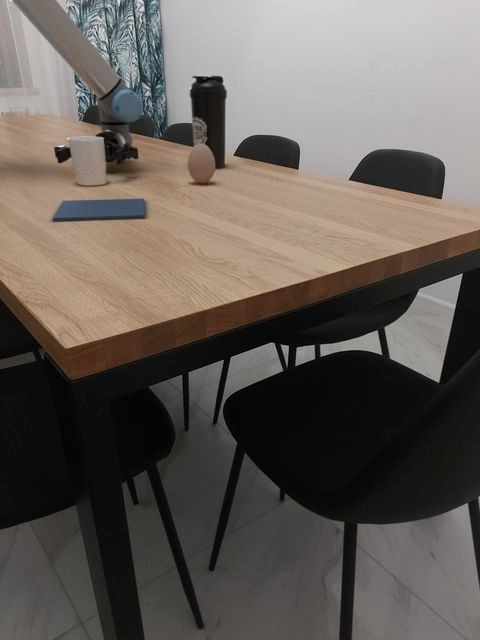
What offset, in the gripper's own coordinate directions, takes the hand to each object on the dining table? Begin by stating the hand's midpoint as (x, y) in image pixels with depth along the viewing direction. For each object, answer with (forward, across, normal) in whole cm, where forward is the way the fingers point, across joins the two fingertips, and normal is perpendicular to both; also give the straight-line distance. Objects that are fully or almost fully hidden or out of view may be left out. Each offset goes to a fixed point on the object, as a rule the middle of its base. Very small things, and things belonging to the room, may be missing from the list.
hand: (88, 157), depth 117 cm
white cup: (0, 0, -6) cm, 6 cm away
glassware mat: (+26, -9, -6) cm, 28 cm away
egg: (-2, -26, -6) cm, 27 cm away
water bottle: (-27, -27, -6) cm, 39 cm away
